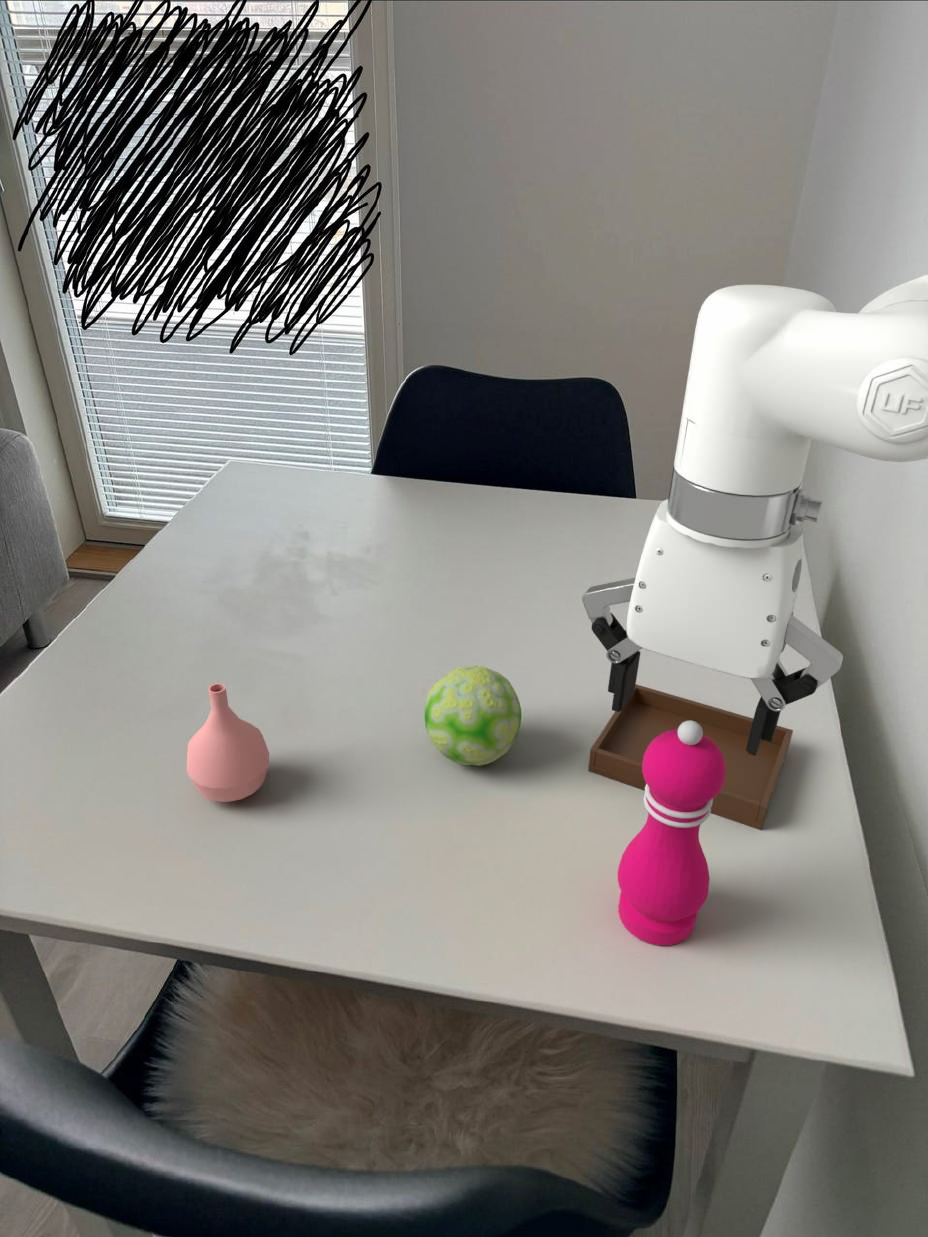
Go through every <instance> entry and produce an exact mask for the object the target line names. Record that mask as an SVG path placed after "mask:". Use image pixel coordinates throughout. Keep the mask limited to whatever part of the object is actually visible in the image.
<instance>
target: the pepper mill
mask: <svg viewBox="0 0 928 1237" xmlns="http://www.w3.org/2000/svg"><path fill="white" fill-rule="evenodd" d="M642 773H643V776H644V779H645V782H646V786H645V790H644V794H643V805H644V807H645V809H646V811H647V818H646V821H645V824H644V825H643V827H642V828H641V830H639V832H638V833H637V834H636V835H635V836H634V838H632V839H631V841H630V842H629V843H628V845H627V846H626V848H625V850H624V852H623V853H622V855H621V858H620V861H619V864H618V868H617V883H618V886H619V889H620V895H619V900H618V915H619V916H618V917H619V918H620V921H621V923H622V925H623V927H624V928H625V929H626V930H627V931H628V932H629V933H630V934H631V935H632V936H634V937H636V938H637V939H638V940H640V941H642V942H645V943H648V944H651V945H656V946H672V945H676V944H679V943H682V942H683V941H684V940H686V939H687V938H688V937H690V935H691V934H692V932H693V931H694V928H695V925H696V920H697V915H698V911H699V910H701V908H702V907H703V906H704V904H705V902H706V900H707V898H708V895H709V890H710V888H709V887H710V878H711V877H710V871H709V864H708V862H707V858H706V856H705V853H704V850H703V848H702V845H701V842H700V827H701V825H703V823H705V822H706V821H707V820H708V819H709V817H710V815H711V813H710V812H711V806H712V803H713V798H714V797H715V796H716V795H717V794H718V793H719V792H720V790H721V789H722V786H723V784H724V780H725V773H726V767H725V761H724V757H723V755H722V753H721V750H720V749H719V748H718V746H717V745H716V744H715V743H714V742H713V741H712V740H711V739H709V738H708V737H706V736H705V735H703V730H702V727H701V726H700V725H699V724H698V723H697V722H695V721H685V722H683V723H682V724H681V725H680V726H679V728H678V729H676V730H670V731H667V732H664V733H662V734H660V735H659V736H657V737H656V738H655V739H653V741H652V742H651V743H650V744H649V746H648V747H647V749H646V751H645V754H644V757H643V763H642Z"/></svg>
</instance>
